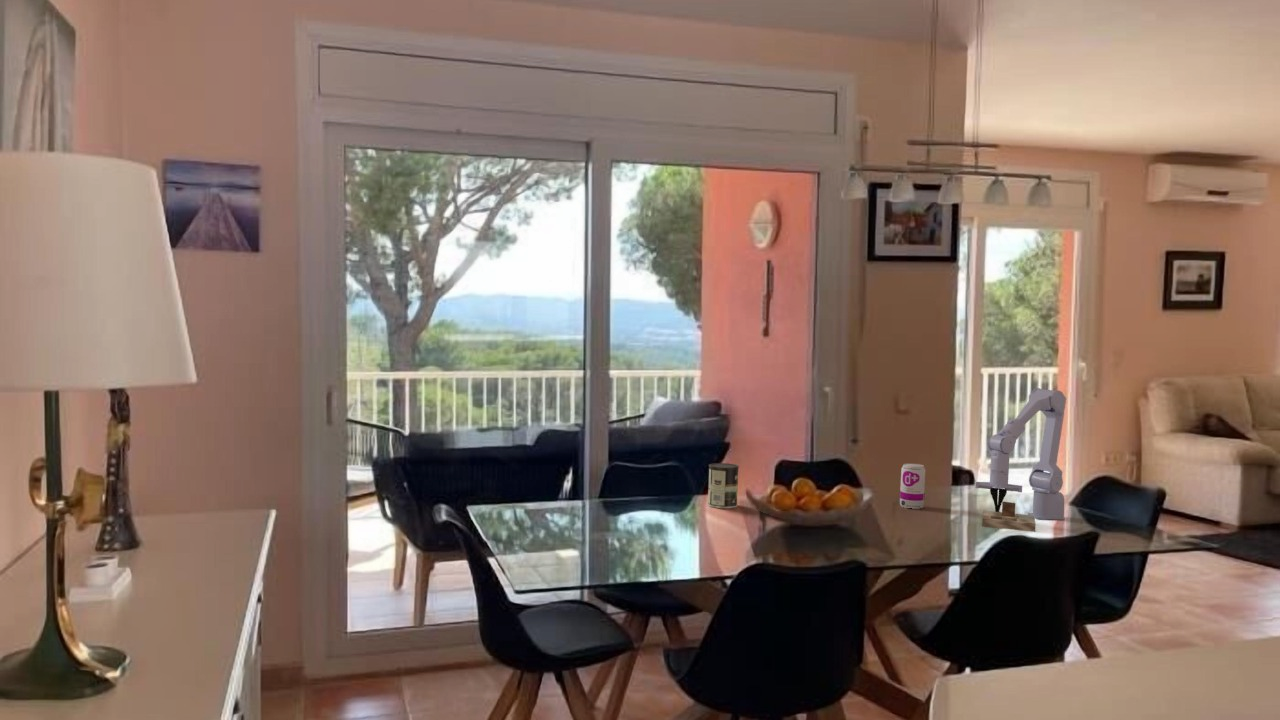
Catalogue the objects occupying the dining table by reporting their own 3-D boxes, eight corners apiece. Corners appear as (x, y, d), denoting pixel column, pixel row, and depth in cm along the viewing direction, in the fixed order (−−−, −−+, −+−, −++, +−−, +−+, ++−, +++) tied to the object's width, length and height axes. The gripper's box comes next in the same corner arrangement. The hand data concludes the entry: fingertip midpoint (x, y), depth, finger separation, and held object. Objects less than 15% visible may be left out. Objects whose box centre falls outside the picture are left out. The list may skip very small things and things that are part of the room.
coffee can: (736, 503, 335) (737, 463, 334) (738, 509, 325) (740, 468, 324) (706, 502, 335) (708, 462, 334) (708, 508, 325) (709, 467, 324)
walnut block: (1014, 514, 318) (1015, 502, 317) (1014, 517, 314) (1015, 505, 314) (1001, 513, 319) (1002, 501, 319) (1001, 515, 315) (1002, 503, 315)
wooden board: (1033, 522, 318) (1034, 515, 318) (1035, 531, 305) (1035, 523, 305) (982, 517, 323) (983, 510, 323) (982, 526, 310) (982, 518, 310)
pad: (1033, 522, 318) (1034, 515, 318) (1034, 528, 310) (1035, 520, 310) (1017, 521, 320) (1018, 513, 319) (1018, 526, 312) (1018, 518, 312)
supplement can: (918, 510, 332) (920, 467, 331) (895, 507, 337) (897, 465, 336) (927, 507, 338) (929, 465, 338) (904, 503, 343) (906, 462, 342)
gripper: (976, 470, 316) (973, 511, 317) (1023, 474, 311) (1020, 516, 311) (976, 467, 322) (974, 507, 323) (1022, 471, 317) (1020, 512, 318)
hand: (997, 511), depth 318 cm, fingers closed
